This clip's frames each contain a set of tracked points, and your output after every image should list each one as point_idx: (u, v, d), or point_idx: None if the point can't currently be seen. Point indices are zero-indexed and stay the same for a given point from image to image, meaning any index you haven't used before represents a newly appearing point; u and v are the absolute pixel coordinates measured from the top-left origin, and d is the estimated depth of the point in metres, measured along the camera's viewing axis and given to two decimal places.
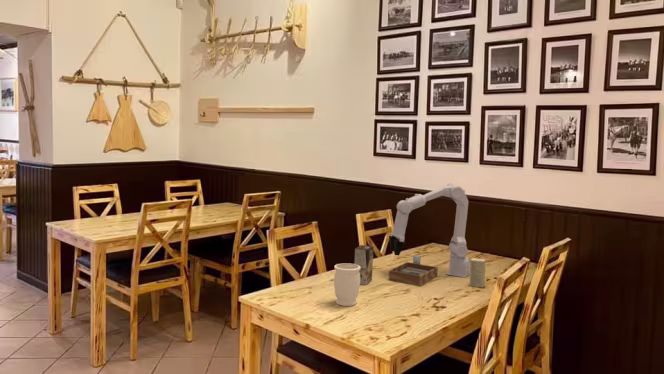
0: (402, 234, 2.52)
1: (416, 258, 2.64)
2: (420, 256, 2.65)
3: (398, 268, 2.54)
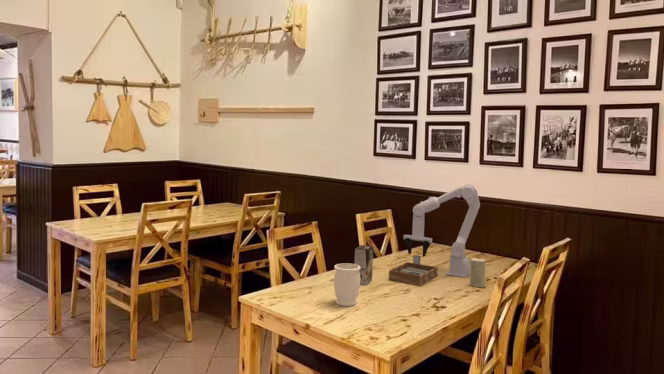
0: (423, 235, 2.64)
1: (416, 258, 2.64)
2: (420, 256, 2.65)
3: (398, 268, 2.54)
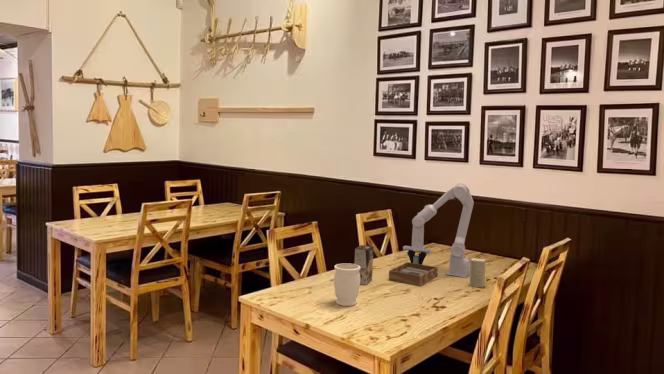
0: None
1: (416, 258, 2.64)
2: None
3: (398, 268, 2.54)
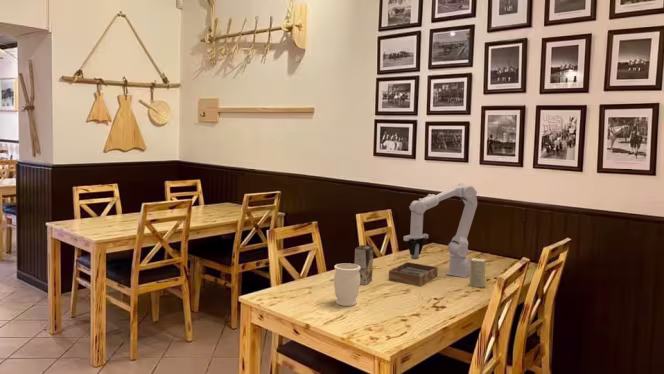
0: None
1: (418, 246, 2.53)
2: None
3: (398, 268, 2.54)
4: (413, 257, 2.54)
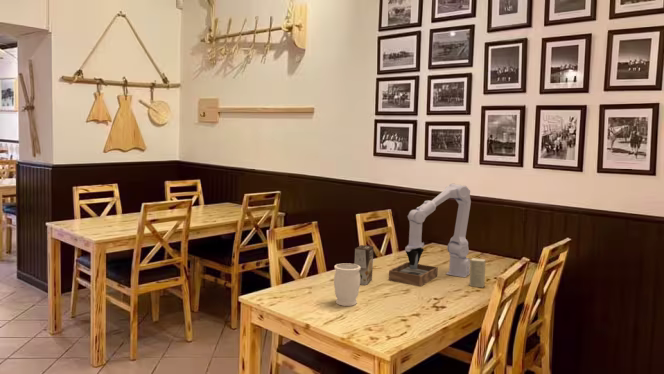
0: None
1: (417, 255, 2.50)
2: None
3: (398, 268, 2.54)
4: (413, 267, 2.49)
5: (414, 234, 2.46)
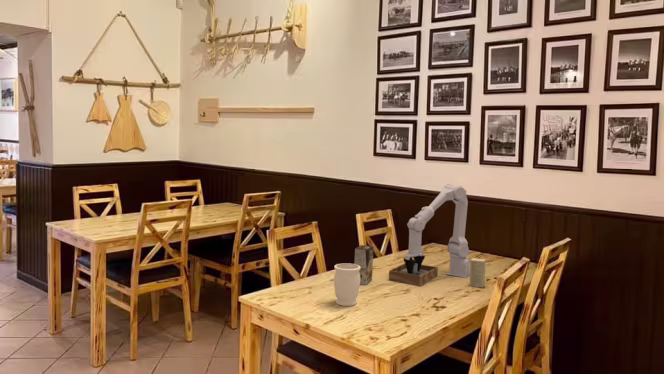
0: None
1: (417, 265, 2.50)
2: None
3: (398, 268, 2.54)
4: None
5: (414, 242, 2.47)
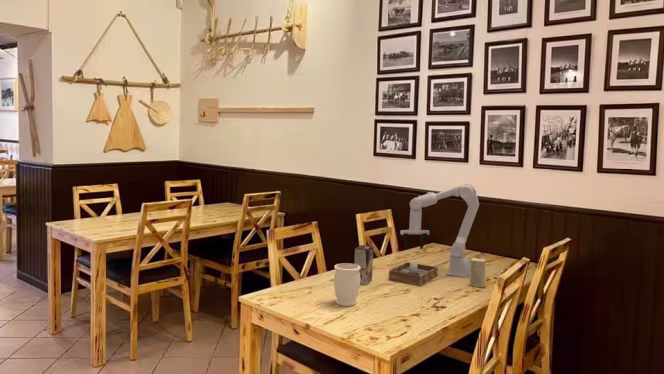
0: None
1: (417, 265, 2.50)
2: None
3: (398, 268, 2.54)
4: None
5: (410, 220, 2.64)
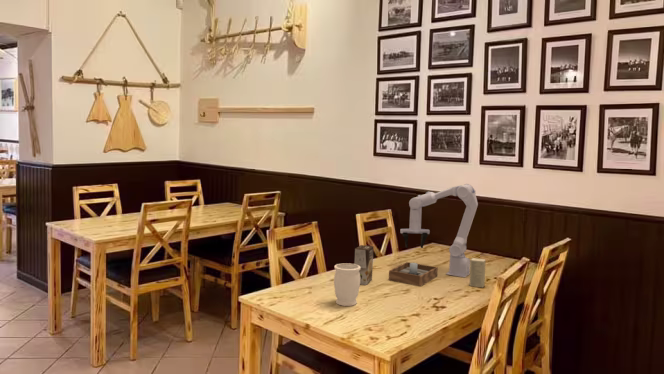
0: None
1: (417, 265, 2.50)
2: None
3: (398, 268, 2.54)
4: None
5: (410, 219, 2.67)
